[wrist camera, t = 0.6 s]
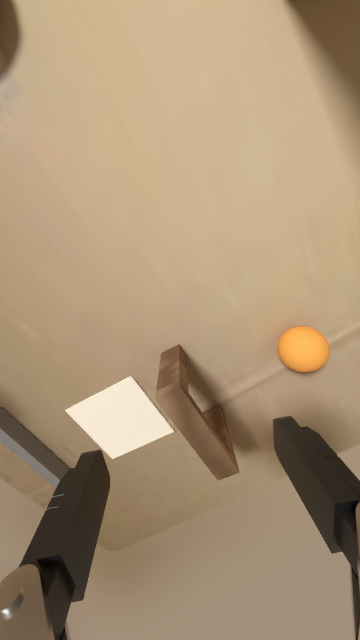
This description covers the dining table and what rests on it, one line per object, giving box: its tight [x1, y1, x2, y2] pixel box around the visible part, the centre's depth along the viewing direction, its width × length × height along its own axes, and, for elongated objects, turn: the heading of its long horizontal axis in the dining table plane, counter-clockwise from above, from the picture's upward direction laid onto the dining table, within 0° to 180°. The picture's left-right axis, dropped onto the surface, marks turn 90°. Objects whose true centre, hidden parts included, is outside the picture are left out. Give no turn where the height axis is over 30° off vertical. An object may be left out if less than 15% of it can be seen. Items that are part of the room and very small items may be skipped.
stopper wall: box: [0, 408, 70, 488], centre depth 38 cm, size 2×24×2 cm, turn 30°
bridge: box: [155, 344, 239, 481], centre depth 29 cm, size 3×15×10 cm, turn 30°
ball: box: [277, 326, 330, 372], centre depth 29 cm, size 6×6×6 cm
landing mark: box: [65, 376, 174, 459], centre depth 36 cm, size 13×13×1 cm
